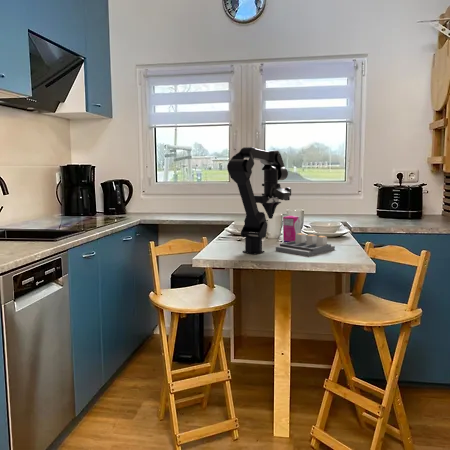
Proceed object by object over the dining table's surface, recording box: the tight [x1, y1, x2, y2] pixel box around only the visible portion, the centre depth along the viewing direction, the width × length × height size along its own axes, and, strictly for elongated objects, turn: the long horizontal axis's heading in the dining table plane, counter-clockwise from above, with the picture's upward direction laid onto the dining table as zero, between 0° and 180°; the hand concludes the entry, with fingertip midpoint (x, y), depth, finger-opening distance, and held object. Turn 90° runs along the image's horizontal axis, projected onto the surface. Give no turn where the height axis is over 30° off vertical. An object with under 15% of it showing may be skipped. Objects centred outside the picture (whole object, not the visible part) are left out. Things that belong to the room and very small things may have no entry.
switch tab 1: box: [295, 232, 306, 244], centre depth 191 cm, size 3×3×4 cm
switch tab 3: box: [316, 235, 328, 247], centre depth 184 cm, size 3×3×4 cm
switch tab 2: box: [306, 234, 318, 245], centre depth 187 cm, size 3×3×4 cm
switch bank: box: [275, 241, 336, 257], centre depth 185 cm, size 18×16×2 cm
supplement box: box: [282, 215, 301, 243], centre depth 204 cm, size 6×6×12 cm
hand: (270, 218), depth 191 cm, fingers closed
